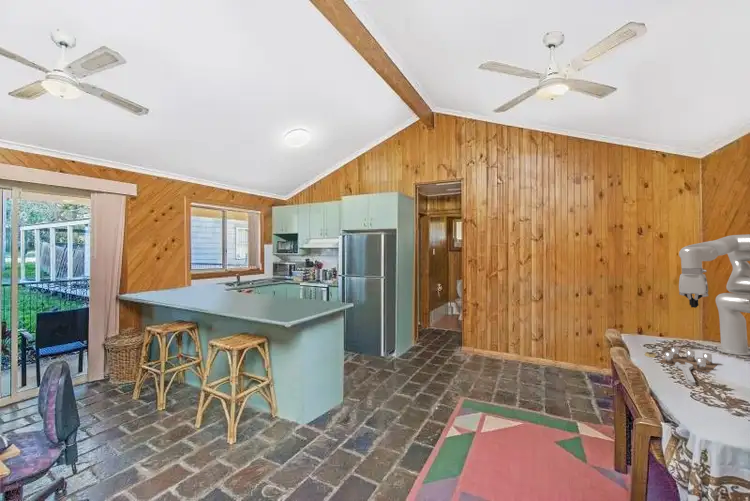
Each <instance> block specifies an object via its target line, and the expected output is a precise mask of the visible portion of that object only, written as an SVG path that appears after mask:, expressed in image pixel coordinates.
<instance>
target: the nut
mask: <svg viewBox="0 0 750 501" xmlns="http://www.w3.org/2000/svg"><path fill="white" fill-rule="evenodd" d="M644 356H645V357H648V358H653V359H655V358H657V353H655V352H652V351H645V352H644Z"/></svg>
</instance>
